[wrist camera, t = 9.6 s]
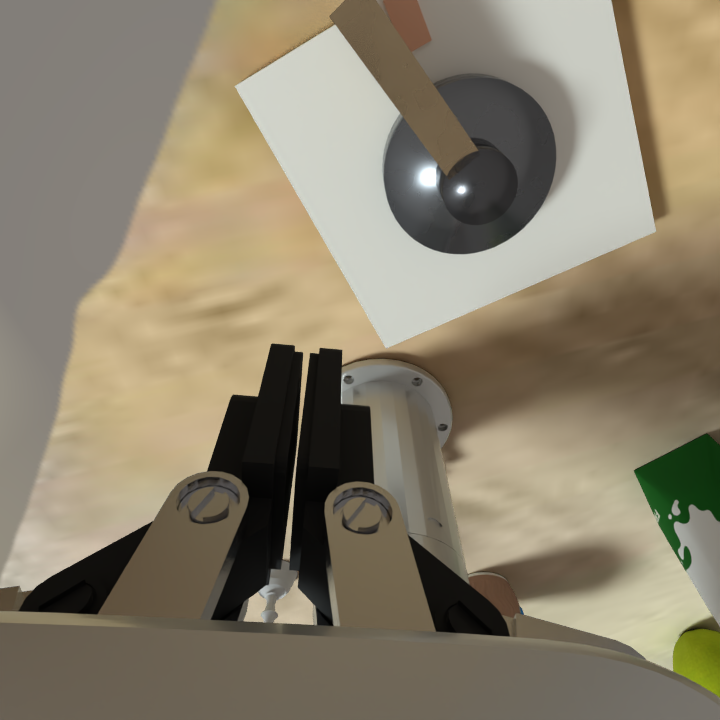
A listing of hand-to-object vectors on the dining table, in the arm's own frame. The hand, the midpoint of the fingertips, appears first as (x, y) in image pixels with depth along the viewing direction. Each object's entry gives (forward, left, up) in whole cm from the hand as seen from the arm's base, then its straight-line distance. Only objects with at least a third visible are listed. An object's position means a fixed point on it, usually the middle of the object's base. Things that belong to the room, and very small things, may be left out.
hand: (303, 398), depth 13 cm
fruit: (-73, -13, -25) cm, 78 cm away
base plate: (-4, -7, -25) cm, 26 cm away
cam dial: (-1, -6, -23) cm, 24 cm away
